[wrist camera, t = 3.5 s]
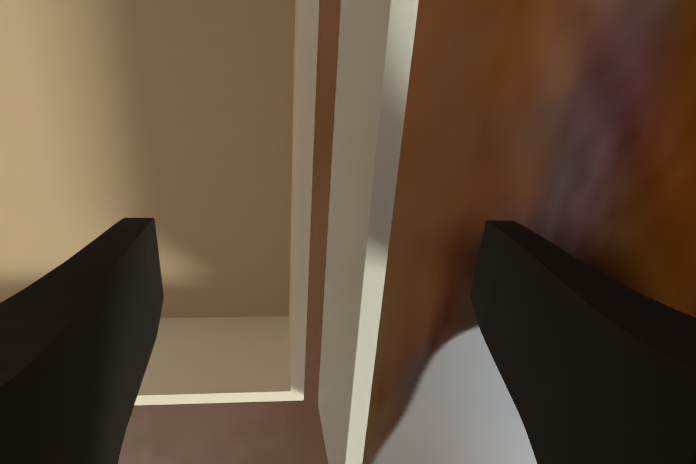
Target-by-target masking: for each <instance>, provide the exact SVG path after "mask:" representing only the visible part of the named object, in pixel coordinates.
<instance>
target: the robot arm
mask: <svg viewBox="0 0 696 464" xmlns="http://www.w3.org/2000/svg"><path fill="white" fill-rule="evenodd" d="M470 296H471V299H472V303H473V307H474V310H475V314H476V317H477V320H478V324H479V327H480V330H481V332H482V335H483V337H484V339H485V341H486V344H487V346H488V348H489V350H490V353H491V355H492V357H493V359H494V361H495V363H496V365H497V367H498V370H499V372H500V374H501V376H502V378H503V380H504V382H505V384H506V387H507V388H508V391H509V393H510V395H511V397H512V399H513V401H514V404H515V406H516V408H517V410H518V412H519V414H520V417H521V419H522V421H523V424H524V426H525V429H526V432H527V434H528V437H529V440H530V443H531V446H532V449H533V452H534V455H535V458H536V461H537V464H696V318H695V317H692V316H690V315H687V314H685V313H682V312H680V311H677V310H675V309H673V308H671V307H668V306H666V305H664V304H662V303H660V302H657V301H655V300H653V299H651V298H649V297H646V296H644V295H642V294H640V293H638V292H636V291H634V290H632V289H630V288H628V287H626V286H624V285H622V284H621V283H619V282H617V281H615V280H613V279H611V278H610V277H608V276H606V275H604V274H602V273H600V272H599V271H597V270H595V269H594V268H592V267H590V266H588V265H587V264H585V263H583V262H582V261H580V260H578V259H577V258H575V257H573V256H572V255H570V254H568V253H567V252H565V251H564V250H562V249H560V248H559V247H557V246H556V245H554V244H552V243H551V242H549V241H547V240H546V239H544V238H543V237H541V236H539V235H538V234H536V233H534V232H533V231H531V230H529V229H527V228H526V227H524V226H522V225H520V224H518V223H516V222H514V221H486V224H485V229H484V233H483V238H482V243H481V247H480V252H479V256H478V261H477V266H476V270H475V275H474V280H473V284H472V289H471V293H470ZM163 299H164V294H163V285H162V277H161V268H160V260H159V251H158V243H157V235H156V226H155V218H123V219H121V220H120V221H118V222H117V223H116V224H114V225H113V226H112V227H110V228H109V229H108V230H106V231H105V232H104V233H102V234H101V235H100V236H98V237H97V238H96V239H95V240H93V241H92V242H91V243H89V244H88V245H87V246H85V247H84V248H83V249H81V250H80V251H79V252H77V253H76V254H75V255H73V256H72V257H71V258H69V259H68V260H66V261H65V262H64V263H62V264H61V265H59V266H58V267H56V268H55V269H53V270H52V271H50V272H49V273H47V274H46V275H44V276H43V277H41V278H40V279H38V280H37V281H35V282H34V283H32V284H31V285H29V286H28V287H26V288H25V289H23V290H21V291H20V292H18V293H16V294H15V295H13V296H11V297H9V298H8V299H6V300H4V301H2V302H0V464H118V460H119V455H120V450H121V446H122V442H123V439H124V435H125V432H126V428H127V425H128V422H129V419H130V416H131V413H132V410H133V407H134V404H135V401H136V398H137V395H138V392H139V389H140V386H141V383H142V380H143V377H144V374H145V371H146V368H147V365H148V362H149V359H150V356H151V353H152V350H153V347H154V344H155V341H156V338H157V333H158V328H159V323H160V317H161V311H162V305H163Z"/></svg>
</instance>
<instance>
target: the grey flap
mask: <svg viewBox="0 0 696 464" xmlns="http://www.w3.org/2000/svg"><path fill="white" fill-rule="evenodd" d="M418 1H419V0H341V12H340V29H339V46H338V64H337V81H336V99H335V116H334V133H333V151H332V168H331V186H330V203H329V220H328V238H327V255H326V273H325V290H324V307H323V325H322V342H321V360H320V377H319V394H318V407H319V413H320V418H321V424H322V430H323V436H324V442H325V447H326V453H327V459H328V464H362V461H363V453H364V445H365V436H366V428H367V420H368V412H369V403H370V395H371V387H372V379H373V371H374V362H375V354H376V346H377V338H378V329H379V321H380V313H381V305H382V297H383V288H384V280H385V272H386V264H387V255H388V247H389V239H390V231H391V223H392V214H393V206H394V198H395V190H396V181H397V173H398V165H399V157H400V149H401V140H402V132H403V124H404V116H405V107H406V99H407V91H408V83H409V75H410V66H411V58H412V50H413V42H414V33H415V25H416V17H417V9H418Z"/></svg>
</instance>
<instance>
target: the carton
mask: <svg viewBox="0 0 696 464" xmlns="http://www.w3.org/2000/svg"><path fill="white" fill-rule="evenodd" d="M318 18H319V0H0V302H2V301H4V300H6V299H8V298H9V297H11V296H13V295H15V294H16V293H18V292H20V291H21V290H23V289H25V288H26V287H28V286H29V285H31V284H32V283H34V282H35V281H37V280H38V279H40V278H41V277H43V276H44V275H46V274H47V273H49V272H50V271H52V270H53V269H55V268H56V267H58V266H59V265H61V264H62V263H64V262H65V261H66V260H68V259H69V258H71V257H72V256H73V255H75V254H76V253H77V252H79V251H80V250H81V249H83V248H84V247H85V246H87V245H88V244H89V243H91V242H92V241H93V240H95V239H96V238H97V237H98V236H100V235H101V234H102V233H104V232H105V231H106V230H108V229H109V228H110V227H112V226H113V225H114V224H116V223H117V222H118V221H120V220H121V219H123V218H155V226H156V235H157V243H158V251H159V260H160V268H161V277H162V285H163V294H164V299H163V305H162V311H161V317H160V323H159V328H158V333H157V338H156V341H155V344H154V347H153V350H152V353H151V356H150V359H149V362H148V365H147V368H146V371H145V374H144V377H143V380H142V383H141V386H140V389H139V392H138V395H137V398H136V401H135V404H134V405H162V404H195V403H229V402H262V401H296V400H304V374H305V349H306V323H307V298H308V272H309V247H310V221H311V196H312V171H313V145H314V120H315V94H316V69H317V43H318Z"/></svg>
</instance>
